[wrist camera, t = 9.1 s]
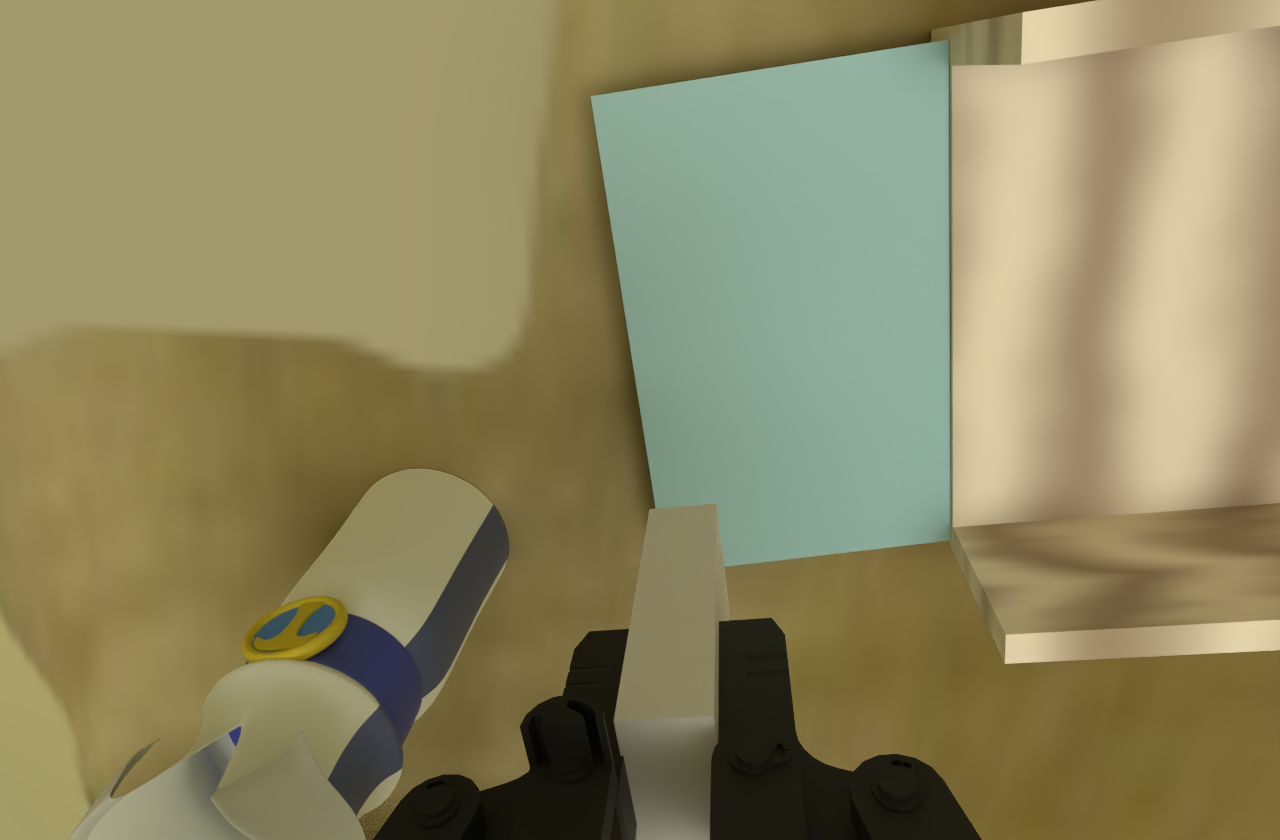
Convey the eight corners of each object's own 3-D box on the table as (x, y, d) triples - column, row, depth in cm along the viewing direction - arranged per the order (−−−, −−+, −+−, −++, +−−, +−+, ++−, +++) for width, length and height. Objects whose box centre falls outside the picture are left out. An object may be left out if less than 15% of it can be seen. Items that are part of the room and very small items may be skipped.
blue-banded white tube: (318, 472, 39) (-254, 1035, 16) (488, 451, 38) (123, 1032, 15) (370, 614, 42) (-52, 1256, 19) (529, 599, 41) (277, 1269, 18)
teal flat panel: (935, 516, 36) (665, 549, 37) (929, 42, 29) (594, 95, 30) (950, 540, 34) (665, 573, 35) (949, 39, 27) (590, 96, 28)
